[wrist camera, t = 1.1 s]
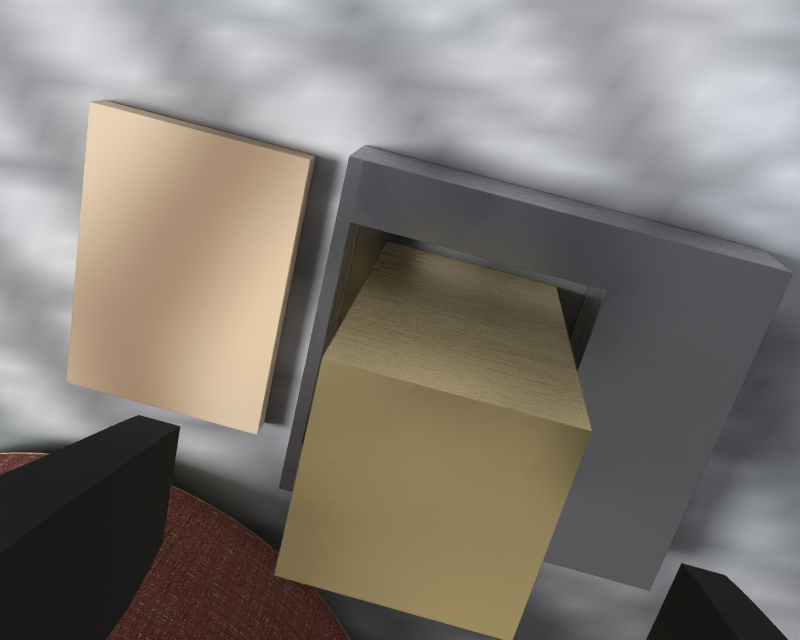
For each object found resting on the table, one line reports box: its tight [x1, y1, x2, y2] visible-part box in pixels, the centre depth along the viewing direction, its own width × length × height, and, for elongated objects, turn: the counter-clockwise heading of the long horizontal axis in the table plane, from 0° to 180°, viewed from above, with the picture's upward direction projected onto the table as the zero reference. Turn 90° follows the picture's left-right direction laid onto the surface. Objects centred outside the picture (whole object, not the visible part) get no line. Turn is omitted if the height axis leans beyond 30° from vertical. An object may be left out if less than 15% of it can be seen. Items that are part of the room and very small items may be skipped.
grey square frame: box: [279, 145, 793, 591], centre depth 17 cm, size 9×8×2 cm
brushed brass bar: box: [275, 242, 592, 640], centre depth 15 cm, size 4×4×7 cm
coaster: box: [66, 100, 316, 434], centre depth 18 cm, size 5×7×1 cm
